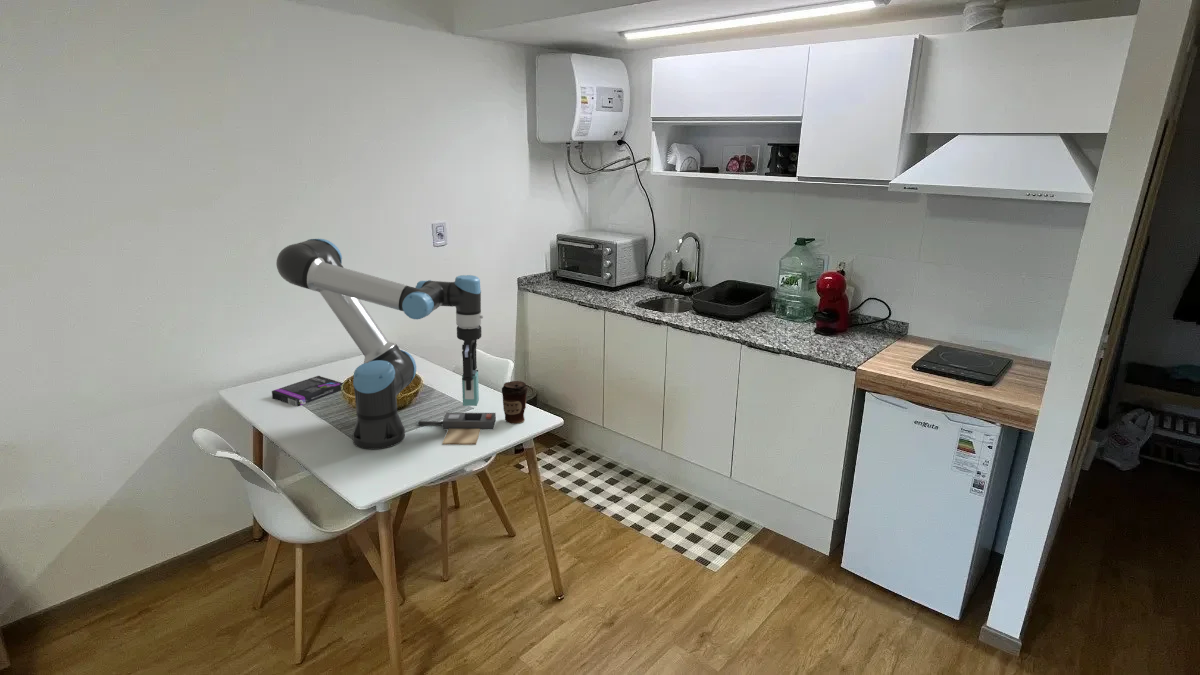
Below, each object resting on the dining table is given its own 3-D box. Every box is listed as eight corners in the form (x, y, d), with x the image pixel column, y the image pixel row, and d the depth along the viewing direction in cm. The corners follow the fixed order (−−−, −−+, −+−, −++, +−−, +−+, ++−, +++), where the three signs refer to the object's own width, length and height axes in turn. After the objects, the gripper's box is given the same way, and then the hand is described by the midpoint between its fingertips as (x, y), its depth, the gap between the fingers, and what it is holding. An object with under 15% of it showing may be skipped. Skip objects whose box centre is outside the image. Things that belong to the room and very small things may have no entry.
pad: (442, 444, 190) (442, 442, 190) (448, 430, 200) (448, 428, 199) (475, 444, 191) (475, 442, 190) (480, 430, 200) (480, 428, 200)
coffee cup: (522, 427, 203) (522, 390, 199) (498, 424, 204) (497, 387, 201) (530, 416, 211) (530, 380, 207) (507, 414, 213) (506, 378, 209)
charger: (462, 405, 199) (462, 374, 196) (465, 400, 204) (464, 369, 200) (476, 405, 200) (476, 374, 197) (478, 400, 204) (478, 369, 201)
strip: (415, 429, 200) (414, 419, 199) (420, 420, 206) (419, 410, 205) (493, 429, 201) (492, 419, 200) (495, 420, 207) (495, 411, 206)
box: (297, 409, 215) (345, 390, 231) (296, 399, 214) (344, 381, 230) (272, 400, 221) (320, 382, 237) (270, 391, 220) (319, 373, 236)
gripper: (477, 334, 186) (478, 406, 193) (484, 318, 203) (486, 385, 209) (451, 333, 186) (454, 406, 192) (461, 317, 202) (463, 385, 209)
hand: (470, 395), depth 201 cm, fingers closed on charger, 4 cm apart
